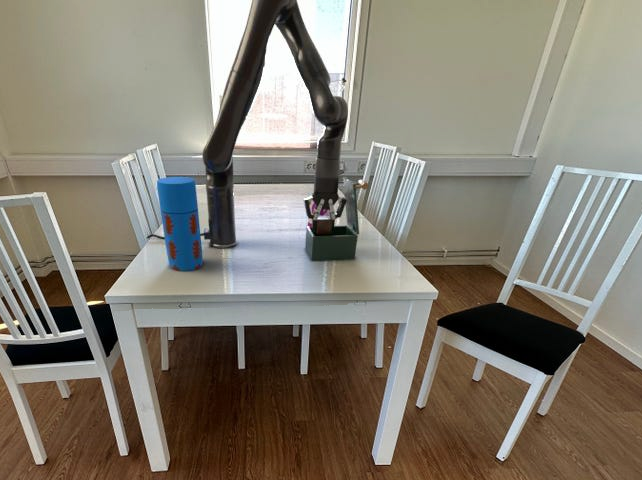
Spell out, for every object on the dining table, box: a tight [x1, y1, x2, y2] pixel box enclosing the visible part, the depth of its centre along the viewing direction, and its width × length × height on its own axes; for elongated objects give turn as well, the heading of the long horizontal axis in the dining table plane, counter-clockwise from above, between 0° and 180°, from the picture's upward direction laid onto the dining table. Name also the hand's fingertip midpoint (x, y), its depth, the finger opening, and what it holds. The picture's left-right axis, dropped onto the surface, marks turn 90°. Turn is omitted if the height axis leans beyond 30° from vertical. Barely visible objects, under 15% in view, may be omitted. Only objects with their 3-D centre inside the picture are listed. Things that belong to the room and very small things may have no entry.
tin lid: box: [342, 176, 369, 236], centre depth 126 cm, size 15×12×6 cm
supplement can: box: [306, 192, 330, 228], centre depth 146 cm, size 8×8×15 cm
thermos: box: [156, 176, 204, 272], centre depth 119 cm, size 11×11×25 cm
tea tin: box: [304, 225, 359, 262], centre depth 133 cm, size 15×12×8 cm
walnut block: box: [316, 215, 332, 234], centre depth 129 cm, size 5×5×5 cm
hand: (322, 230), depth 130 cm, fingers closed on walnut block, 4 cm apart
